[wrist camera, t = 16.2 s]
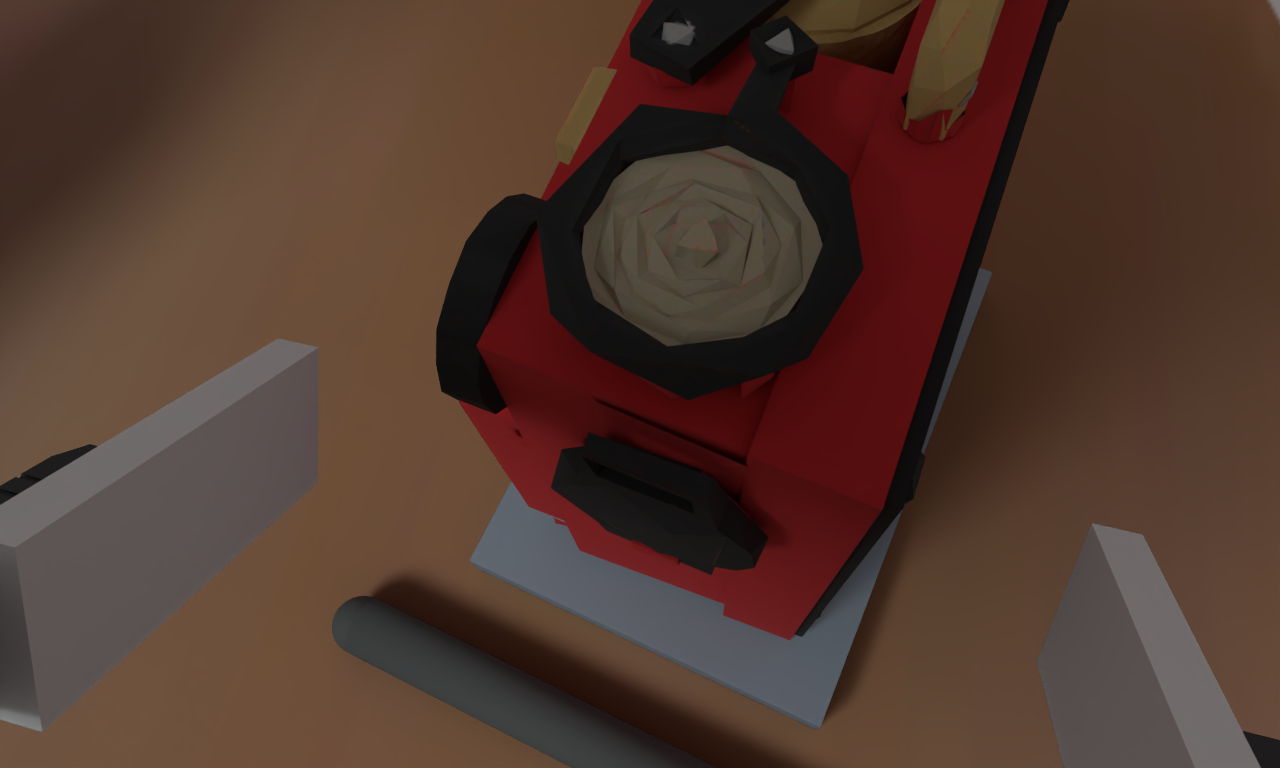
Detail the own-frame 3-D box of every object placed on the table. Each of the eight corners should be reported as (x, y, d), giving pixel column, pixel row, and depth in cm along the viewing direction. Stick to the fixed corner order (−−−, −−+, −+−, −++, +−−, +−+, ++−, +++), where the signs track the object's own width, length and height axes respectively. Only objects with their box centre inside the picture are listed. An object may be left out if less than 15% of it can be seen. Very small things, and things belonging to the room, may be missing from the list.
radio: (680, 202, 38) (663, -326, 20) (929, 280, 36) (1166, -224, 18) (515, 567, 33) (285, 315, 15) (794, 681, 31) (932, 556, 13)
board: (478, 569, 35) (469, 560, 34) (681, 181, 41) (680, 160, 39) (815, 729, 32) (820, 727, 31) (981, 290, 38) (992, 272, 36)
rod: (333, 643, 34) (312, 635, 32) (361, 591, 35) (343, 582, 33) (867, 917, 30) (878, 927, 28) (889, 853, 31) (901, 858, 29)
